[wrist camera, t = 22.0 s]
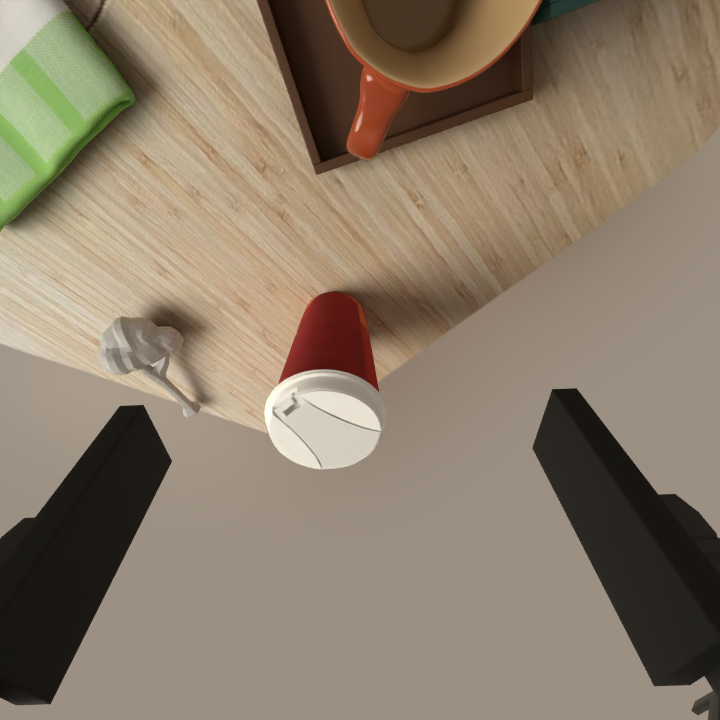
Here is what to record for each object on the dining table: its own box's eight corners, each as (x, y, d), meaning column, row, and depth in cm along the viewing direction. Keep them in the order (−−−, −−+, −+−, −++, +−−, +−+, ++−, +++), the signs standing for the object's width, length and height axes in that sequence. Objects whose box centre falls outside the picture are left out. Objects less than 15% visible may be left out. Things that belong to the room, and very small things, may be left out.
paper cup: (274, 318, 33) (233, 432, 22) (334, 261, 30) (323, 360, 19) (335, 368, 37) (327, 490, 25) (395, 322, 34) (416, 436, 22)
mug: (364, -166, 18) (373, -402, 9) (515, -64, 20) (635, -183, 11) (293, 113, 24) (262, 121, 16) (413, 169, 26) (441, 203, 18)
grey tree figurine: (158, 439, 36) (67, 351, 28) (162, 406, 40) (82, 319, 32) (226, 413, 37) (156, 319, 29) (224, 382, 40) (161, 291, 32)
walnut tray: (521, 99, 24) (533, 99, 23) (318, 170, 26) (316, 175, 25) (507, -203, 17) (524, -235, 16) (236, -73, 20) (226, -88, 18)
